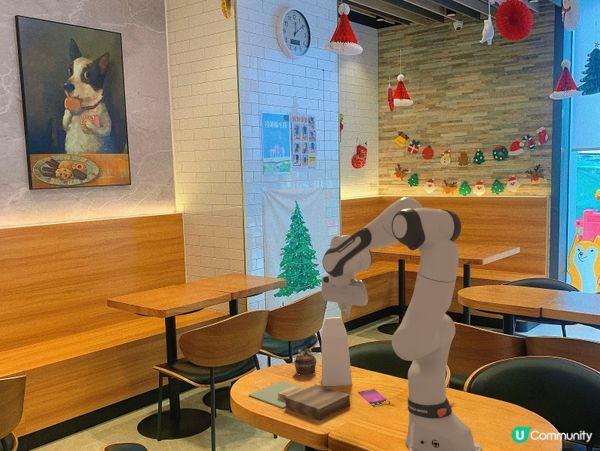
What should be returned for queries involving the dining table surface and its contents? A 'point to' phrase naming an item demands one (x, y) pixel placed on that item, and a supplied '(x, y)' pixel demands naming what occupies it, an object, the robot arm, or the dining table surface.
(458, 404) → the dining table surface
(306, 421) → the dining table surface
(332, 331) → the milk
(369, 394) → the smartphone
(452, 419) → the robot arm
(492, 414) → the dining table surface
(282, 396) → the coaster
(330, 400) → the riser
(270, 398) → the mat
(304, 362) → the cupcake
